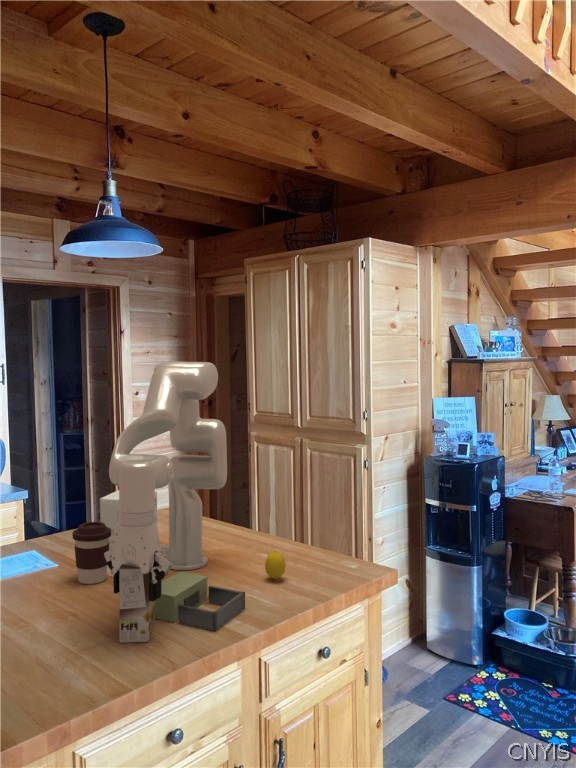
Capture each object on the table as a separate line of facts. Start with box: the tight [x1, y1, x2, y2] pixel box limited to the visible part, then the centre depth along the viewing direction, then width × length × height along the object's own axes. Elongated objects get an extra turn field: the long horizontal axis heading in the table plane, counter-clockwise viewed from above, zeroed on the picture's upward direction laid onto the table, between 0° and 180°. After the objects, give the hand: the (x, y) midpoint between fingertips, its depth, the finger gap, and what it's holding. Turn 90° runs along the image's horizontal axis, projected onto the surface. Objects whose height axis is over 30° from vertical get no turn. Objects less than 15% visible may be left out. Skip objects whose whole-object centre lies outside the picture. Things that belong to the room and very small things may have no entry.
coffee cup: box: [72, 521, 111, 585], centre depth 167 cm, size 10×10×15 cm
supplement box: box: [99, 489, 158, 550], centre depth 192 cm, size 13×13×18 cm
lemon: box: [264, 550, 286, 581], centre depth 169 cm, size 6×6×8 cm
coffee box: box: [118, 564, 156, 644], centre depth 136 cm, size 9×6×16 cm
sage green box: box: [155, 571, 208, 623], centre depth 150 cm, size 8×14×6 cm, turn 155°
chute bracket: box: [177, 585, 246, 632], centre depth 146 cm, size 10×14×4 cm
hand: (137, 595), depth 136 cm, fingers open, 9 cm apart
